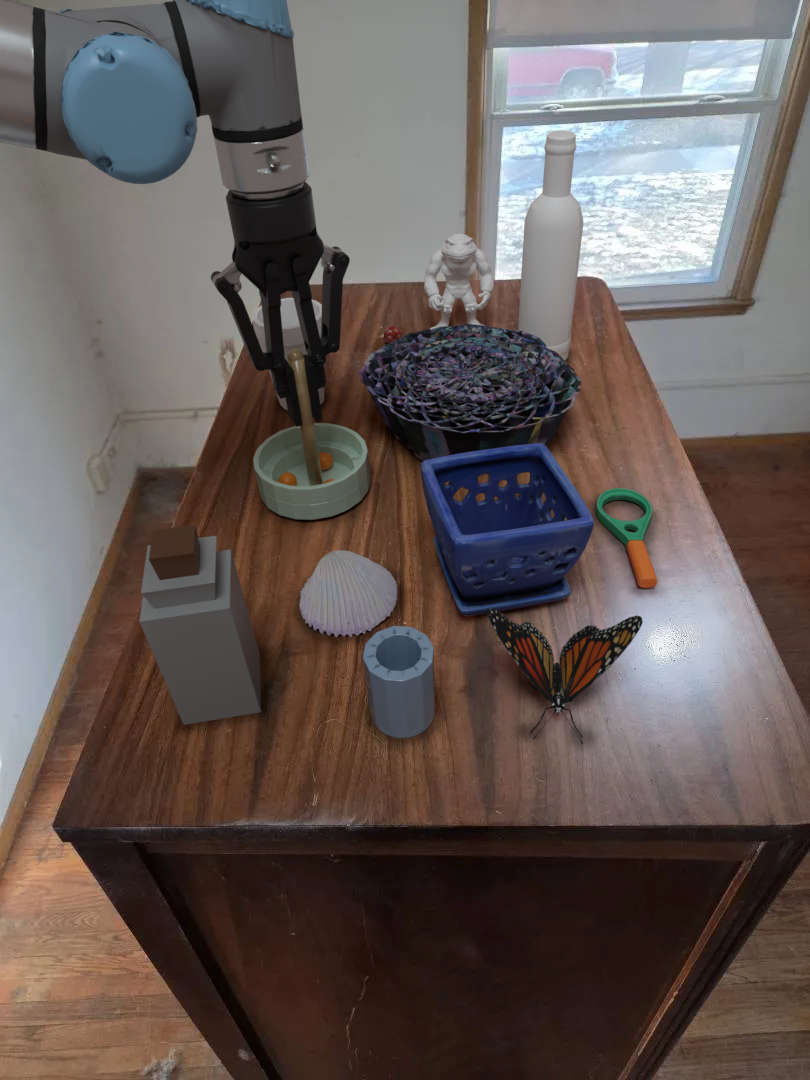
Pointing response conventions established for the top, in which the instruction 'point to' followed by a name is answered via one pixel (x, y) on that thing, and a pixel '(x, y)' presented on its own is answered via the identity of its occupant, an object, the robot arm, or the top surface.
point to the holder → (400, 681)
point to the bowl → (288, 456)
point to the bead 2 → (325, 460)
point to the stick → (306, 418)
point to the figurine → (458, 278)
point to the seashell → (347, 594)
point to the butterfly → (564, 656)
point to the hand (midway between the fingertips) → (305, 416)
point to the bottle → (552, 250)
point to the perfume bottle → (199, 626)
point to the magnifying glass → (630, 540)
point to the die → (392, 334)
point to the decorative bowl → (469, 389)
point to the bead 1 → (288, 479)
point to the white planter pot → (288, 333)
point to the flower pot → (505, 527)
